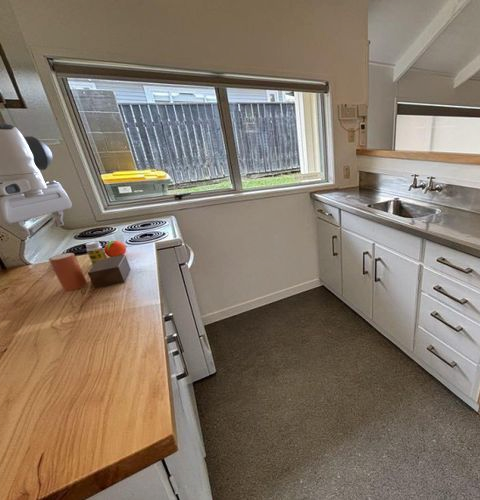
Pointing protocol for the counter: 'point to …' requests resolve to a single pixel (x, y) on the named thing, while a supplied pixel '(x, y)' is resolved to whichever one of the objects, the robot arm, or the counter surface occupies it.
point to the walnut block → (109, 271)
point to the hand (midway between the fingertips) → (45, 230)
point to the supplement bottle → (95, 251)
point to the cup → (68, 271)
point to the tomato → (114, 248)
